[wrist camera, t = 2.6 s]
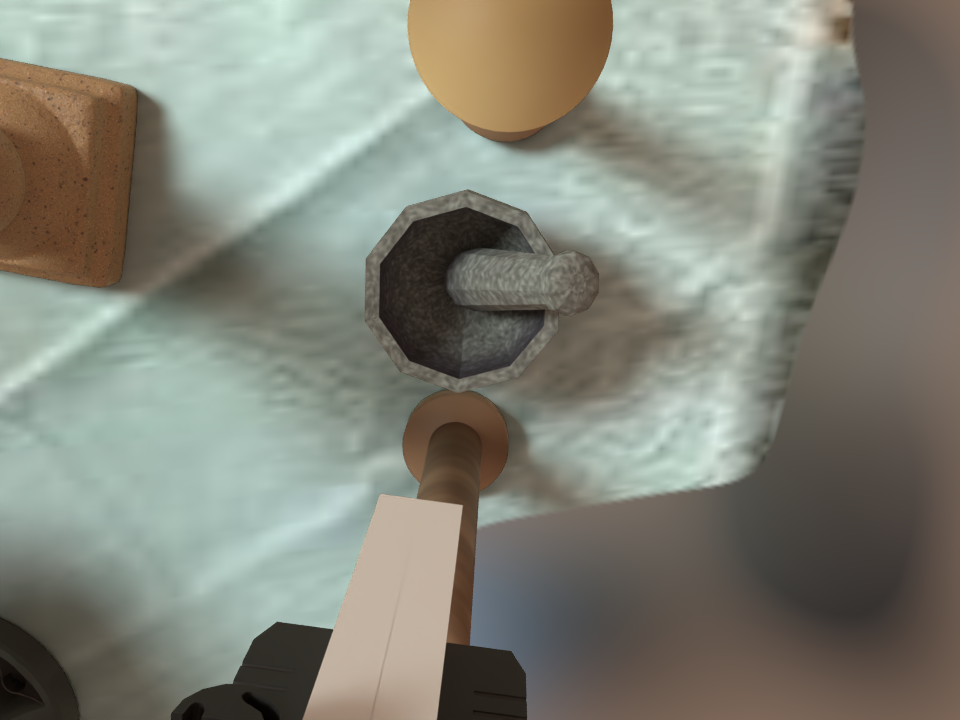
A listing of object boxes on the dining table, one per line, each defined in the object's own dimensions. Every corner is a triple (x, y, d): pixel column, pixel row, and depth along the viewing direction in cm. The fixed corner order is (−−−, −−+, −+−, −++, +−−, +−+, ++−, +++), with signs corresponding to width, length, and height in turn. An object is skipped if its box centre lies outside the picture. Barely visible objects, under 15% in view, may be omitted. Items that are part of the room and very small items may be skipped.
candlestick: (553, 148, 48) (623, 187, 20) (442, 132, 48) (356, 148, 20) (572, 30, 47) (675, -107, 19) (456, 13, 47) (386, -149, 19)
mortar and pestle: (407, 373, 52) (378, 445, 40) (358, 213, 49) (313, 241, 38) (598, 323, 51) (627, 382, 39) (558, 158, 48) (575, 169, 37)
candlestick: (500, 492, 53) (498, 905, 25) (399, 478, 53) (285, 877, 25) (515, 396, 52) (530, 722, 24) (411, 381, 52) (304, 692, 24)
